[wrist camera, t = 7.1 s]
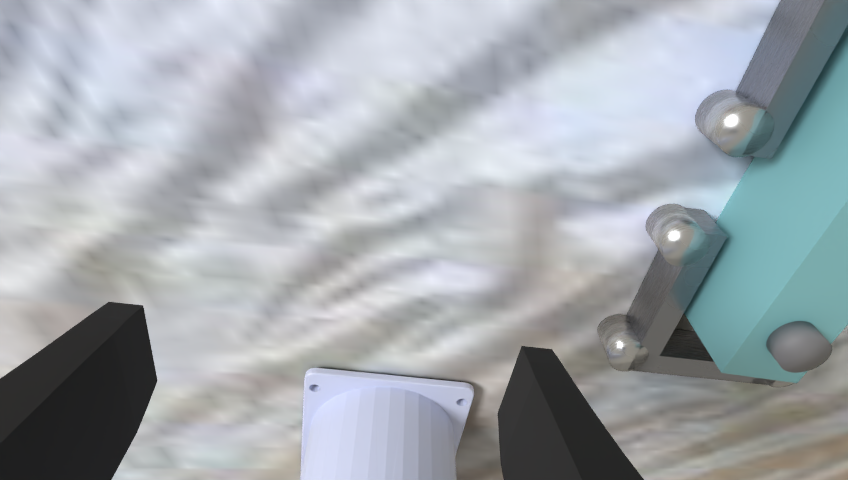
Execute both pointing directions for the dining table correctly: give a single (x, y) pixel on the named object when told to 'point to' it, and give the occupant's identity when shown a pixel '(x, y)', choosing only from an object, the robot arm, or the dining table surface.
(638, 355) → the chain end
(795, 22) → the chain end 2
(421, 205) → the dining table surface
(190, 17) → the dining table surface
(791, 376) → the teal studded beam
